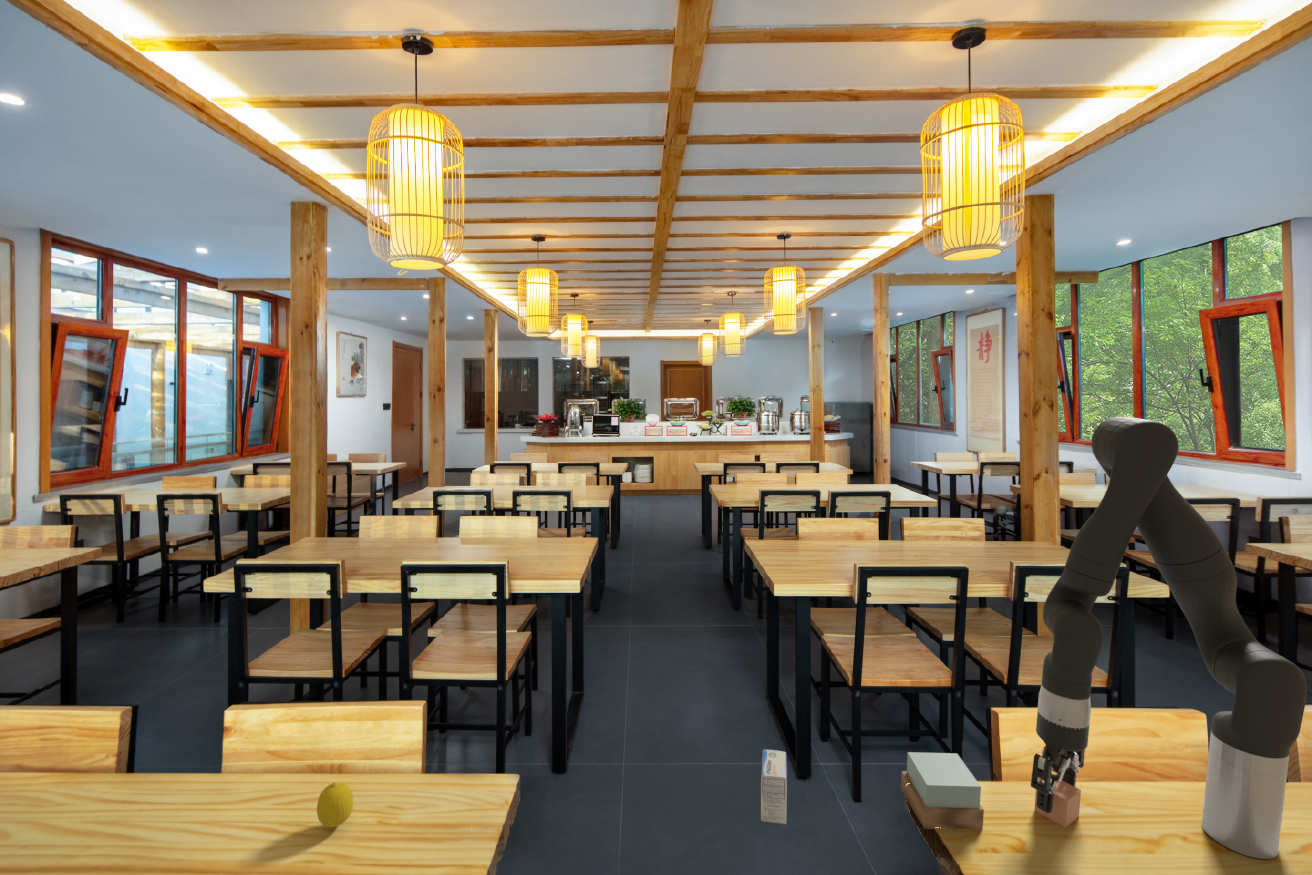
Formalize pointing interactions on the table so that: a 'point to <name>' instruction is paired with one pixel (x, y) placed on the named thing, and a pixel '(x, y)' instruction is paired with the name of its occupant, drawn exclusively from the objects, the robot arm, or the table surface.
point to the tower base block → (940, 811)
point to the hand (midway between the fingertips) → (1055, 800)
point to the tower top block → (943, 780)
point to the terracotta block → (1063, 804)
